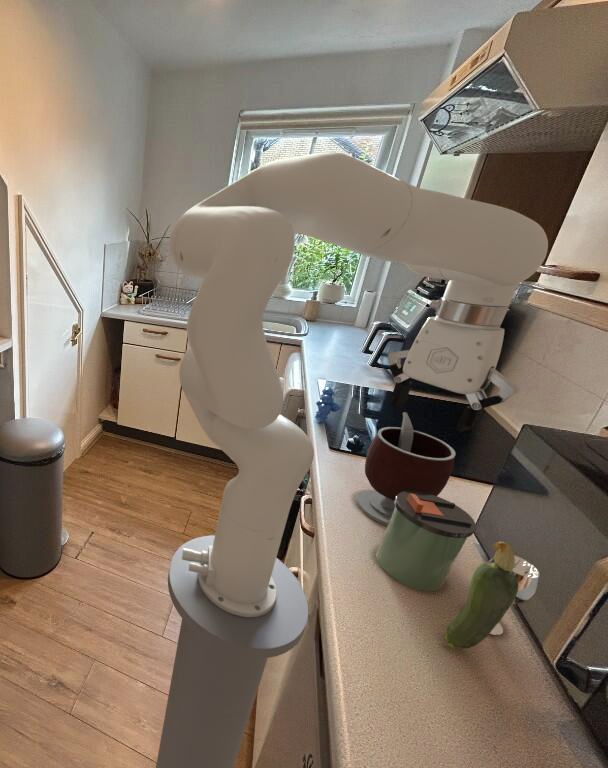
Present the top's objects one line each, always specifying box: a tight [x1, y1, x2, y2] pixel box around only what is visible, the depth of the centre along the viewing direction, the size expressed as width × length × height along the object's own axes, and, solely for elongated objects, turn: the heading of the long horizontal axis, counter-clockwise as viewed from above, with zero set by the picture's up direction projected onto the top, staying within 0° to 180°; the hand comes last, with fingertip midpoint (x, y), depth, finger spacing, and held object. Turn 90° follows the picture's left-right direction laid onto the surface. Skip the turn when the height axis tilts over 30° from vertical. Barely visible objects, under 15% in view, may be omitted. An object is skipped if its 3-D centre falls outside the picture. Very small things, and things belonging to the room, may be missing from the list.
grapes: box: [314, 386, 341, 423], centre depth 124 cm, size 12×7×12 cm, turn 149°
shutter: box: [407, 493, 444, 517], centre depth 68 cm, size 4×4×2 cm
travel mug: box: [375, 491, 477, 592], centre depth 71 cm, size 11×11×14 cm
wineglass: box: [487, 554, 541, 636], centre depth 62 cm, size 6×6×12 cm
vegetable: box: [444, 541, 518, 650], centre depth 55 cm, size 4×4×20 cm
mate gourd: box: [355, 411, 456, 526], centre depth 85 cm, size 16×14×20 cm
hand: (428, 416), depth 67 cm, fingers open, 9 cm apart
